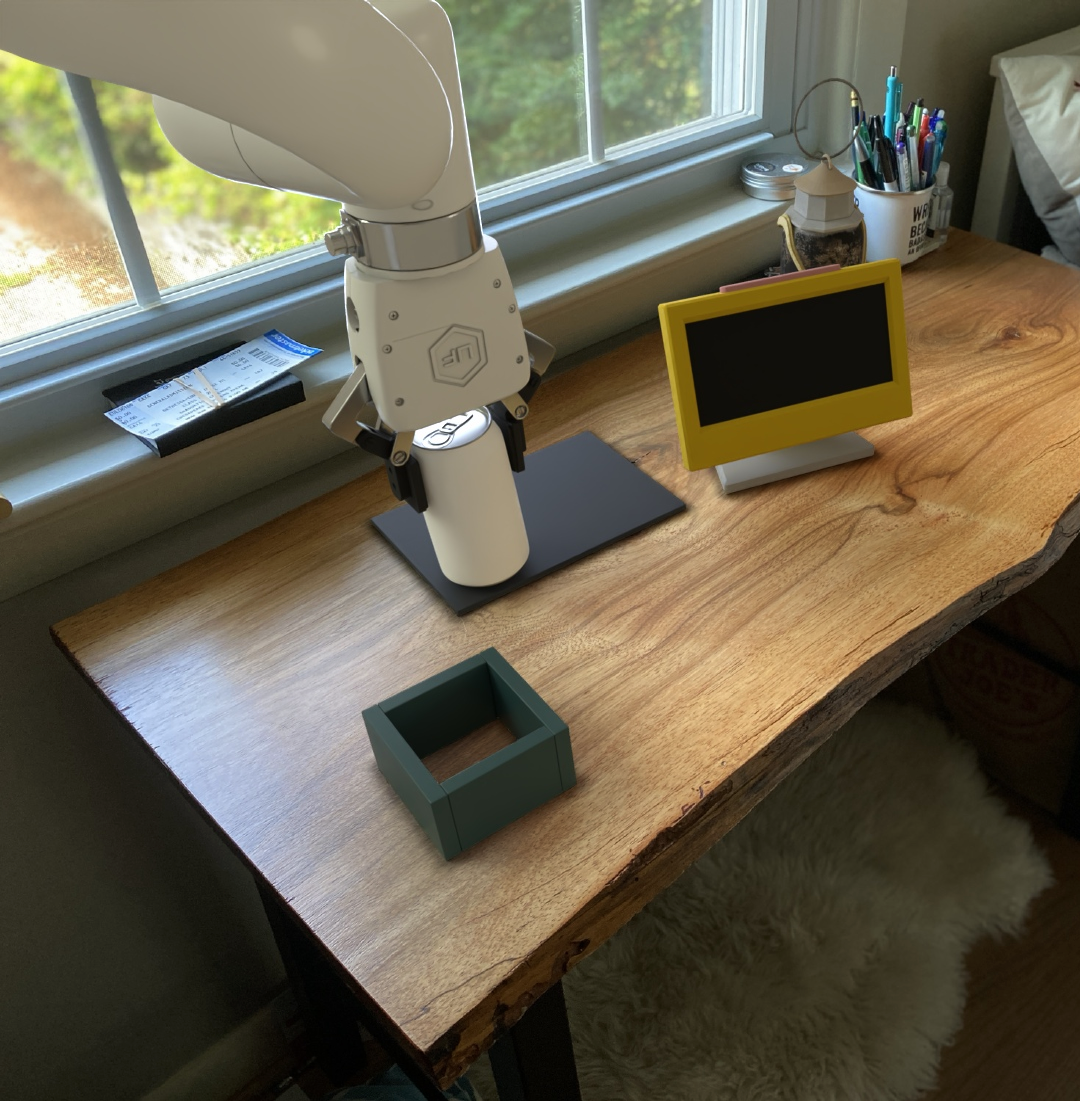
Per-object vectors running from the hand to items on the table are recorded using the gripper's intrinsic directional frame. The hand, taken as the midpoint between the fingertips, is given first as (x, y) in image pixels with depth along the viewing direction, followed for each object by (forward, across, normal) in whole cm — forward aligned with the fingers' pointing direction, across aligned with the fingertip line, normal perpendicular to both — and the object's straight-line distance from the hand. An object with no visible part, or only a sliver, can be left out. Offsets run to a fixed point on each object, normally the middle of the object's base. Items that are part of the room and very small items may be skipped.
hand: (462, 481), depth 75 cm
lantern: (+8, +43, +10) cm, 45 cm away
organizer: (+8, -9, -16) cm, 21 cm away
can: (+7, +1, 0) cm, 8 cm away
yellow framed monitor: (+9, +28, -2) cm, 29 cm away
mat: (+8, +7, +4) cm, 11 cm away
